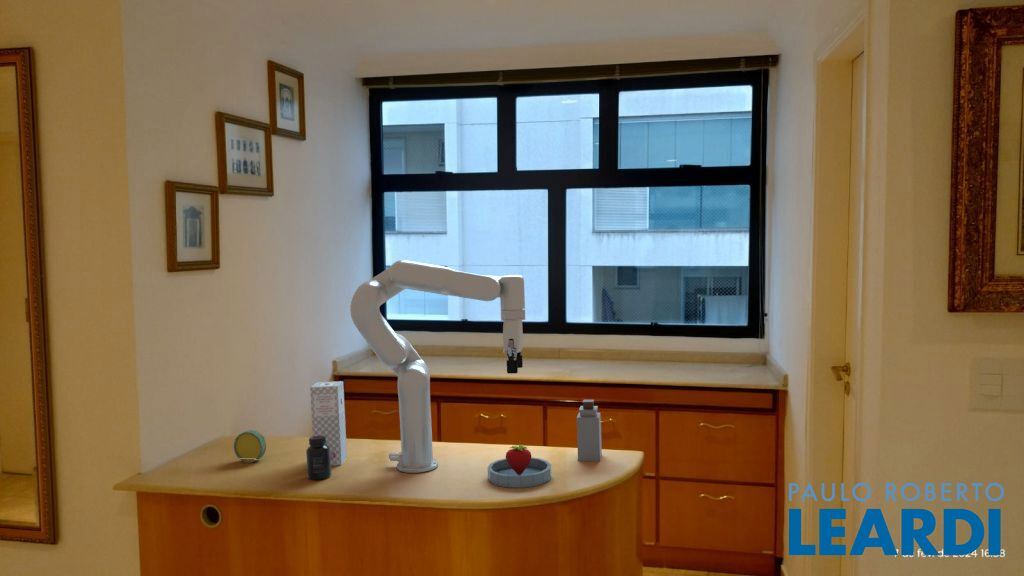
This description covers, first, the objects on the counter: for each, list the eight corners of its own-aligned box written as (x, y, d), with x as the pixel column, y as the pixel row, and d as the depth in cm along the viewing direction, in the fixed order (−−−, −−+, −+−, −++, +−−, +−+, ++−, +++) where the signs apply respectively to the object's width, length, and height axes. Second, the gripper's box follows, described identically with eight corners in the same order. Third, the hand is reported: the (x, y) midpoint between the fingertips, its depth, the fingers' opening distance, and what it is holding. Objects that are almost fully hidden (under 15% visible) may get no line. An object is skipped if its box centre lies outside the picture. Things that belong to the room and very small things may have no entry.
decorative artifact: (234, 462, 230) (232, 432, 230) (246, 456, 237) (244, 426, 237) (262, 463, 228) (261, 432, 228) (274, 456, 235) (272, 426, 235)
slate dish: (482, 487, 198) (482, 475, 197) (495, 467, 215) (494, 456, 215) (547, 488, 195) (546, 476, 194) (554, 468, 212) (553, 457, 212)
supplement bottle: (335, 474, 214) (333, 434, 213) (322, 481, 208) (320, 441, 207) (316, 472, 216) (314, 433, 216) (302, 479, 210) (300, 439, 209)
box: (314, 466, 223) (310, 387, 222) (320, 458, 231) (316, 382, 230) (341, 465, 223) (337, 386, 222) (346, 457, 232) (343, 381, 230)
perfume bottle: (600, 461, 217) (598, 403, 216) (578, 460, 219) (576, 403, 218) (601, 455, 224) (600, 398, 223) (580, 454, 225) (578, 398, 224)
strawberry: (508, 470, 209) (507, 437, 208) (533, 471, 207) (532, 437, 206) (504, 477, 203) (502, 443, 202) (530, 478, 201) (529, 443, 201)
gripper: (505, 312, 228) (507, 365, 229) (495, 318, 211) (497, 375, 212) (529, 312, 227) (530, 365, 227) (520, 317, 209) (522, 375, 210)
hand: (515, 370), depth 220 cm, fingers open, 9 cm apart
